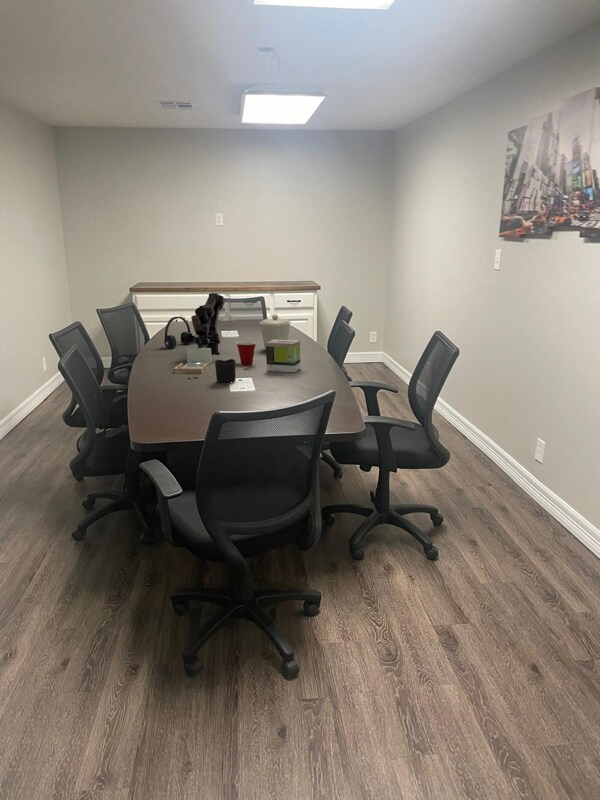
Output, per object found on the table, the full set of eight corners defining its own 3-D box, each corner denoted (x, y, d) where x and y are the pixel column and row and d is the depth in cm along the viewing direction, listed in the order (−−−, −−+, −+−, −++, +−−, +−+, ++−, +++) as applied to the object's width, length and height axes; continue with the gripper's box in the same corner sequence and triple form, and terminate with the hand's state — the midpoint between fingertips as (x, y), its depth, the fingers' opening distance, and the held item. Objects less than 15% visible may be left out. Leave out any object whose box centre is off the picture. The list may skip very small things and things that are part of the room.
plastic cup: (260, 362, 294) (260, 340, 290) (250, 367, 285) (250, 344, 281) (243, 361, 298) (242, 339, 295) (233, 365, 289) (231, 343, 285)
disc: (199, 363, 289) (199, 360, 289) (206, 366, 283) (206, 363, 283) (185, 365, 285) (185, 362, 285) (192, 368, 279) (191, 365, 278)
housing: (181, 368, 284) (181, 362, 283) (208, 369, 282) (208, 362, 281) (173, 375, 271) (173, 369, 270) (201, 375, 269) (200, 369, 268)
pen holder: (227, 385, 252) (226, 364, 249) (211, 382, 257) (210, 361, 254) (240, 380, 260) (239, 360, 257) (224, 378, 265) (223, 357, 262)
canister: (286, 346, 336) (285, 311, 329) (295, 351, 319) (294, 315, 313) (257, 348, 330) (256, 313, 324) (265, 354, 314) (263, 317, 307)
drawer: (188, 363, 292) (186, 347, 290) (212, 364, 291) (211, 348, 288) (180, 370, 279) (178, 353, 277) (205, 370, 278) (204, 353, 275)
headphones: (171, 349, 329) (168, 319, 323) (162, 348, 332) (160, 318, 327) (194, 344, 345) (192, 315, 340) (186, 343, 349) (184, 314, 343)
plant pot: (214, 343, 347) (212, 317, 342) (190, 343, 347) (188, 318, 342) (217, 338, 361) (216, 314, 356) (195, 338, 361) (193, 314, 357)
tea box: (300, 368, 281) (300, 340, 277) (294, 373, 272) (293, 343, 268) (273, 366, 286) (272, 338, 281) (266, 371, 277) (265, 342, 272)
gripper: (183, 317, 291) (178, 342, 284) (217, 318, 289) (213, 342, 282) (188, 330, 301) (183, 354, 294) (221, 330, 299) (218, 354, 292)
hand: (199, 351), depth 290 cm, fingers closed
